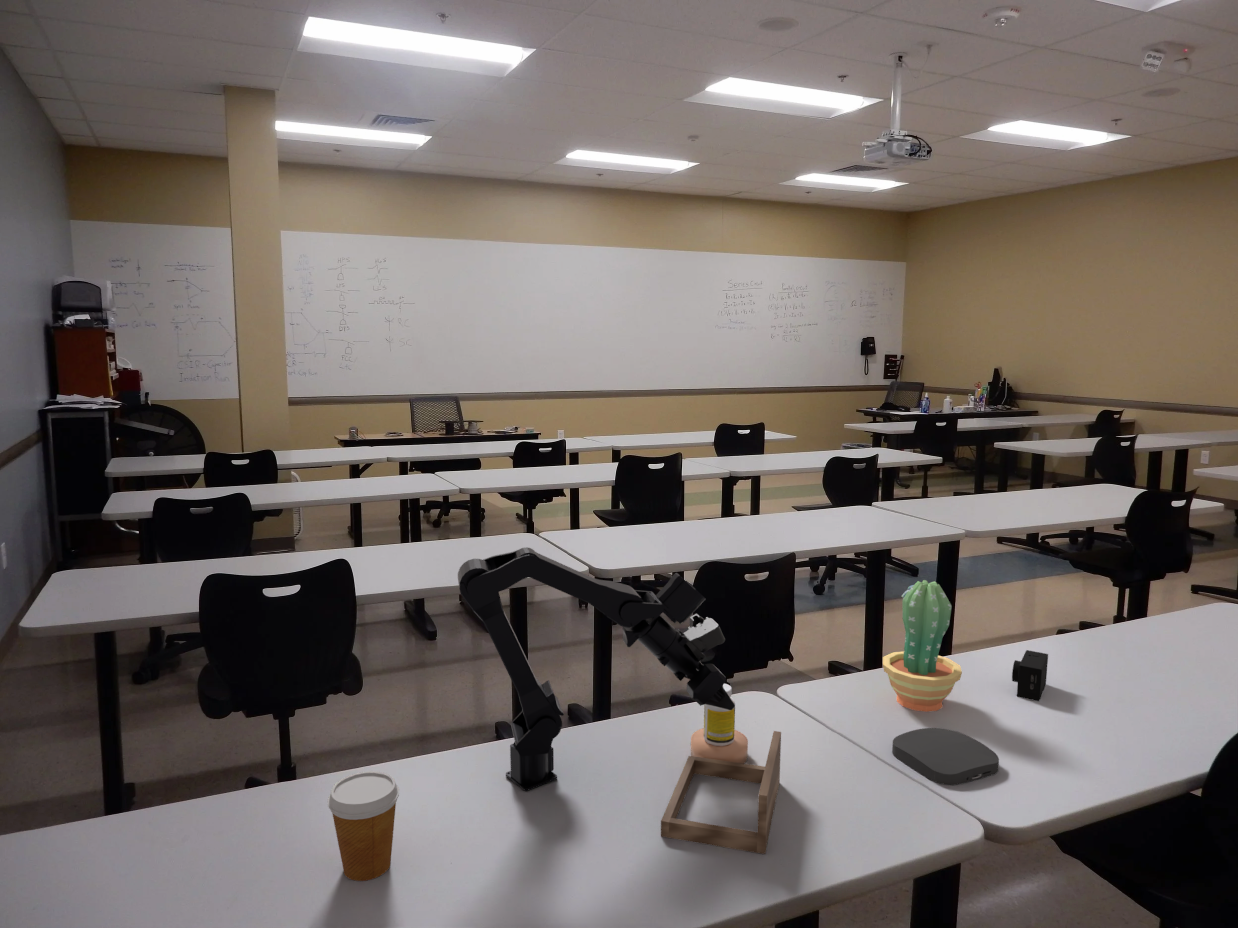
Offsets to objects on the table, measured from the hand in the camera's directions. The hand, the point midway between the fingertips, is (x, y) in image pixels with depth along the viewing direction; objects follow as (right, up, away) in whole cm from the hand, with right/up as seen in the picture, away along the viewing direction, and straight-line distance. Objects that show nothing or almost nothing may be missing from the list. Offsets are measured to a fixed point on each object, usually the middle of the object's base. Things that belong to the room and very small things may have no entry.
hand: (723, 696), depth 147 cm
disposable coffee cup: (-54, -16, -30) cm, 63 cm away
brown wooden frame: (-1, -13, -15) cm, 20 cm away
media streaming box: (+39, -12, 0) cm, 40 cm away
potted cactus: (+43, -8, +23) cm, 49 cm away
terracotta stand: (-1, -11, +1) cm, 11 cm away
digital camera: (+68, -7, +30) cm, 74 cm away
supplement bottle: (-1, -8, +1) cm, 8 cm away
